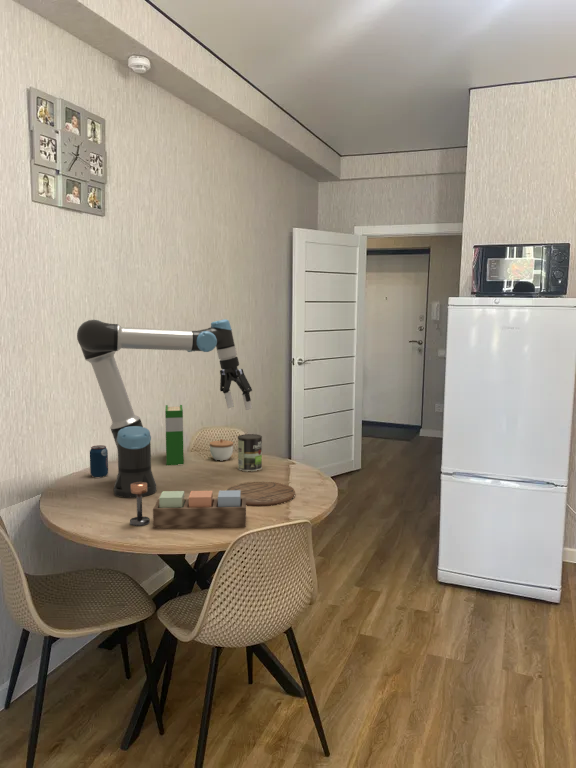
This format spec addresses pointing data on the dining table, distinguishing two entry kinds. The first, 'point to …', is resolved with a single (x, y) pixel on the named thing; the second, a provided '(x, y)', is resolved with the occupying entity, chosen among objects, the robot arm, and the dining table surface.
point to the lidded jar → (221, 449)
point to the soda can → (98, 461)
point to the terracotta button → (201, 499)
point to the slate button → (229, 498)
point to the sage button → (171, 499)
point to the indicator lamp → (139, 504)
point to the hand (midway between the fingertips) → (239, 408)
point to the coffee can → (249, 452)
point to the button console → (200, 516)
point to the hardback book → (174, 435)
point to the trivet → (264, 493)
